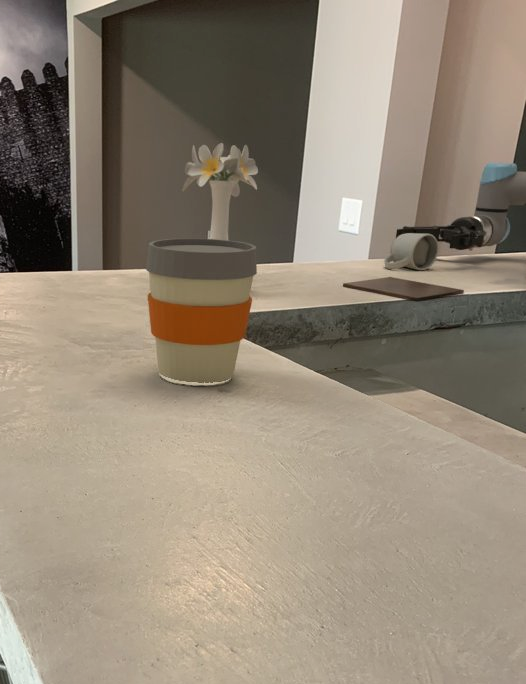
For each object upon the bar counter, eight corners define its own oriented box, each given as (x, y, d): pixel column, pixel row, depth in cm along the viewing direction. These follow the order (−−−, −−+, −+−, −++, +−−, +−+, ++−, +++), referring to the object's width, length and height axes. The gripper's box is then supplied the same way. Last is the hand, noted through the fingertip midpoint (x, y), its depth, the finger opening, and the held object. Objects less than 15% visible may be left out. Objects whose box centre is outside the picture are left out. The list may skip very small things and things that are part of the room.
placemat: (463, 293, 146) (464, 290, 146) (417, 301, 138) (417, 297, 137) (389, 279, 158) (389, 276, 158) (342, 286, 150) (342, 283, 149)
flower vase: (244, 283, 150) (255, 143, 139) (252, 301, 133) (265, 144, 123) (178, 281, 150) (184, 141, 140) (178, 299, 134) (184, 142, 123)
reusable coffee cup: (254, 392, 86) (266, 254, 80) (144, 390, 86) (146, 251, 80) (241, 362, 98) (250, 239, 91) (143, 360, 97) (145, 237, 91)
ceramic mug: (409, 264, 178) (414, 229, 175) (435, 269, 172) (441, 233, 168) (374, 267, 174) (379, 231, 170) (400, 272, 167) (405, 236, 164)
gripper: (515, 255, 180) (473, 262, 167) (419, 243, 196) (373, 249, 183) (523, 221, 177) (480, 226, 164) (424, 212, 193) (378, 216, 180)
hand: (423, 238), depth 173 cm, fingers open, 13 cm apart
